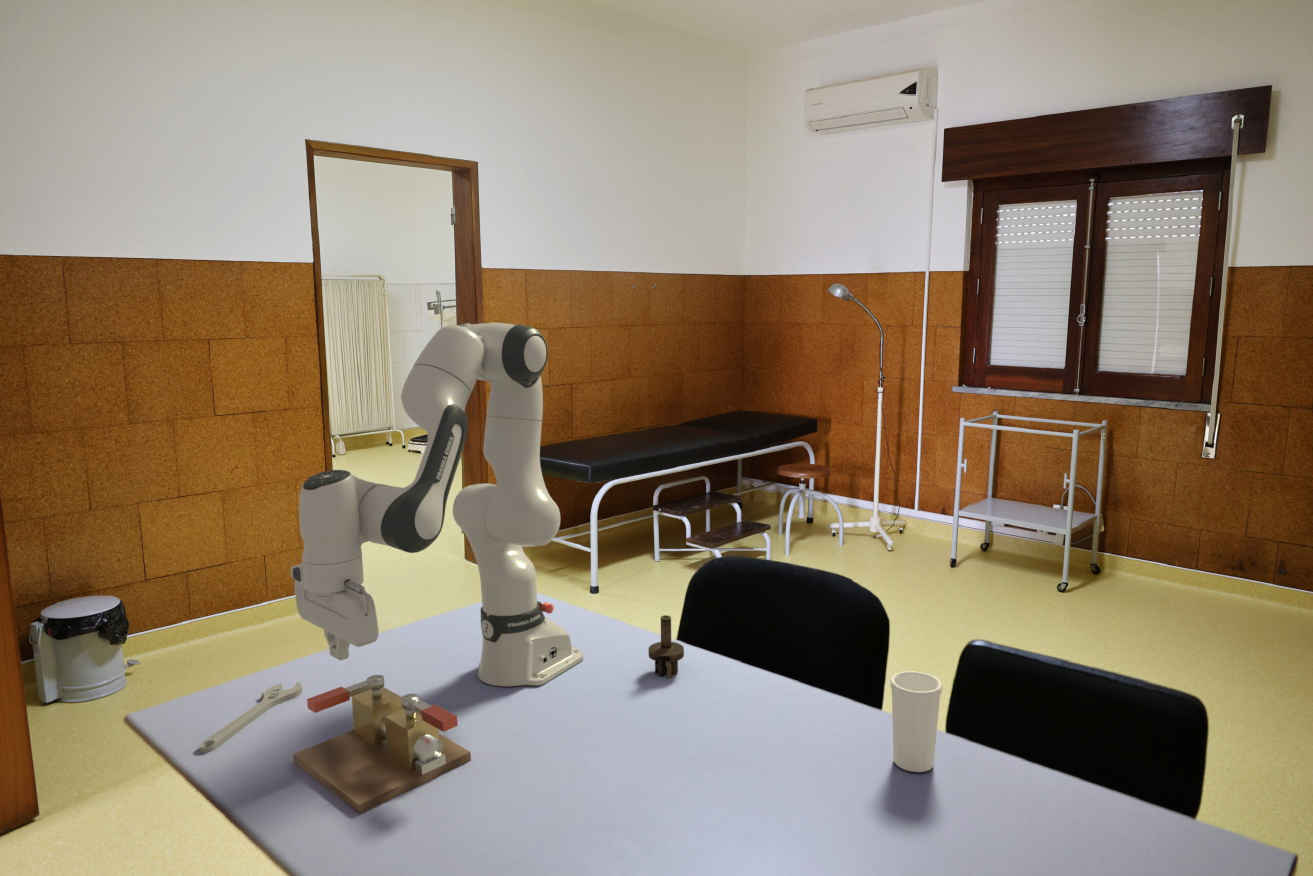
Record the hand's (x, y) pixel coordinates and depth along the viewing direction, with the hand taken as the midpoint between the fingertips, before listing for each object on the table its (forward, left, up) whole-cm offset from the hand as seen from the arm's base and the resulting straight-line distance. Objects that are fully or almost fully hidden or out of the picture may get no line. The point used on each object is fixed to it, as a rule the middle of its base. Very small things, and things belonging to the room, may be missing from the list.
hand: (339, 657), depth 137 cm
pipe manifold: (-8, +4, -18) cm, 21 cm away
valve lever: (-3, -5, -9) cm, 11 cm away
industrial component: (-62, +14, -20) cm, 67 cm away
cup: (-62, +68, -20) cm, 95 cm away
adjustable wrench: (+3, -32, -20) cm, 38 cm away
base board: (-5, +1, -20) cm, 21 cm away
